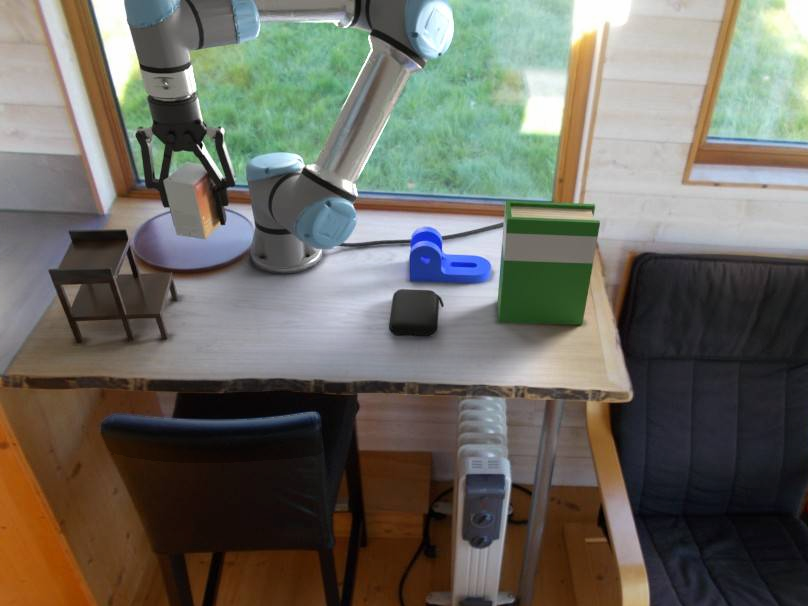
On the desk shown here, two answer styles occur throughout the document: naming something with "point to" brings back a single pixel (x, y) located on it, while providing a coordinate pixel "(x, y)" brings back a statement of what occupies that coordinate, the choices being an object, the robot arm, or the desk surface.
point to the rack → (109, 282)
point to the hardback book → (546, 261)
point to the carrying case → (414, 313)
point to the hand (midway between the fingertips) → (200, 221)
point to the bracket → (443, 261)
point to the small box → (192, 201)
